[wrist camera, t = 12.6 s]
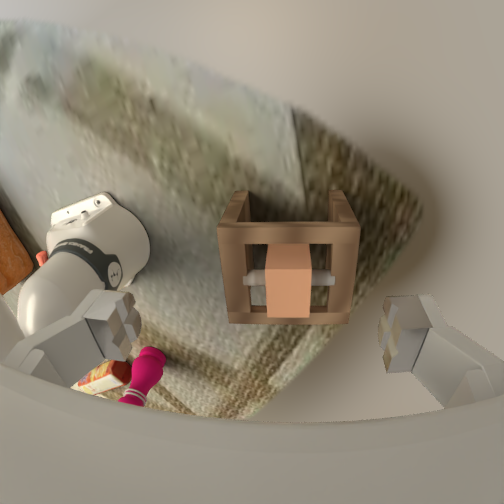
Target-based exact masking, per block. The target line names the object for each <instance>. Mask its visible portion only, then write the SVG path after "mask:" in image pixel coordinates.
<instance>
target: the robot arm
mask: <svg viewBox="0 0 504 504" xmlns="http://www.w3.org/2000/svg"><path fill="white" fill-rule="evenodd" d="M98 200H99V201H100V202H99V201H98ZM46 241H47V248H48V252H49V259H48V256H47V252H46V251H41V252H39V253H38V254H37V255H36V258H37V260H38V261H39V265H40V266H41V267H40V268H39V269H38V270H37V271H36V272H35V273H34V274H33V275H32V276H30V277H29V278H28V279H27V280H26V282H25V283H24V285H23V286H22V288H21V291H20V294H19V298H18V315H17V319H16V316H15V314H14V312H13V311H12V309H11V308H10V306H9V305H8V303H7V302H6V300H5V299H4V297H3V296H2V294H1V293H0V504H504V361H503V360H501V359H499V358H498V357H497V356H495V355H494V354H492V353H491V352H490V351H488V350H487V349H485V348H484V347H482V346H481V345H479V344H478V343H477V342H475V341H474V340H472V339H470V338H469V337H468V336H466V335H464V334H463V333H462V332H460V331H459V330H457V329H456V328H454V327H452V326H450V327H448V325H447V323H446V321H445V319H444V317H443V315H442V313H441V311H440V310H439V308H438V306H437V304H436V302H435V300H434V299H433V297H432V295H430V294H420V295H411V296H387V297H386V298H385V300H384V304H383V309H384V312H385V314H384V315H383V316H382V317H381V318H380V321H379V326H378V339H379V345H380V347H381V348H382V349H383V350H385V352H384V355H383V360H384V364H385V368H386V372H387V373H397V372H411V371H412V372H411V373H412V374H413V375H414V376H415V377H416V378H417V379H418V380H419V381H420V382H421V383H422V384H423V385H424V387H426V389H428V391H429V392H430V393H431V394H432V395H433V396H434V397H435V398H436V399H437V400H438V401H439V402H440V404H441V405H442V406H443V407H444V409H443V410H437V411H432V412H426V413H420V414H413V415H407V416H399V417H391V418H382V419H371V420H359V421H343V422H313V423H312V422H311V423H291V422H290V423H289V422H259V421H244V420H231V419H221V418H211V417H203V416H195V415H188V414H181V413H174V412H168V411H162V410H157V409H151V408H146V407H141V406H136V405H132V404H127V403H123V402H118V401H114V400H110V399H106V398H102V397H98V396H94V395H91V394H87V393H84V392H80V391H77V390H73V389H70V387H71V386H73V385H74V384H75V383H76V382H78V381H79V380H80V379H81V378H83V377H84V376H85V375H86V374H88V373H89V372H90V371H91V370H93V369H94V368H95V367H96V366H98V365H99V364H100V363H101V362H103V361H104V360H105V359H110V360H117V361H124V362H125V361H126V359H127V357H128V355H129V353H130V352H131V350H132V345H131V343H132V342H133V341H135V340H136V339H137V338H138V336H139V334H140V332H141V325H142V324H141V317H140V314H139V312H138V311H137V310H136V309H135V308H134V305H135V299H134V297H133V294H131V293H130V292H123V291H120V290H121V289H122V288H123V287H124V286H129V285H130V284H131V283H132V281H133V279H134V276H135V274H136V273H138V272H139V271H140V270H141V269H142V268H143V267H144V266H145V265H146V263H147V261H148V259H149V255H150V243H149V239H148V235H147V233H146V231H145V229H144V227H143V225H142V224H141V223H140V221H139V220H138V219H137V218H136V217H135V216H134V215H133V214H132V213H131V212H129V211H128V210H126V209H124V208H123V207H121V206H119V205H118V204H117V203H116V202H115V201H114V199H113V198H112V197H111V196H110V195H109V194H108V193H106V192H102V193H100V194H97V195H94V196H92V197H89V198H86V199H84V200H81V201H79V202H76V203H74V204H71V205H69V206H66V207H64V208H61V209H59V210H56V211H55V212H54V213H53V214H52V217H51V229H50V230H49V231H48V233H47V238H46Z"/></svg>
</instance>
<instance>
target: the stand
mask: <svg viewBox="0 0 504 504" xmlns="http://www.w3.org/2000/svg"><path fill="white" fill-rule="evenodd" d="M360 230H361V227H360V225H359V223H358V221H357V219H356V217H355V215H354V213H353V211H352V209H351V207H350V205H349V203H348V201H347V199H346V197H345V195H344V193H343V191H342V190H329V198H328V222H251V221H250V207H249V192H248V191H235V192H234V194H233V196H232V198H231V200H230V202H229V204H228V206H227V208H226V210H225V212H224V214H223V216H222V218H221V220H220V222H219V224H218V226H217V236H218V245H219V252H220V260H221V268H222V275H223V283H224V290H225V298H226V305H227V312H228V319H229V323H236V324H289V325H304V324H348V321H349V315H350V309H351V303H352V296H353V289H354V282H355V274H356V266H357V258H358V249H359V240H360ZM252 244H327V247H326V263H325V269H312V276H311V286H328V295H327V305H326V306H310V314H309V318H276V317H267V306H255V305H251V294H250V289H251V286H266V281H265V269H254V264H253V249H252Z"/></svg>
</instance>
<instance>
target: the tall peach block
mask: <svg viewBox="0 0 504 504" xmlns="http://www.w3.org/2000/svg"><path fill="white" fill-rule="evenodd" d="M311 276H312V267H311V257H310V248H309V244H268V250H267V257H266V265H265V281H266V301H267V317H276V318H309V314H310V297H311Z"/></svg>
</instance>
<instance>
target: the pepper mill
mask: <svg viewBox="0 0 504 504" xmlns="http://www.w3.org/2000/svg"><path fill="white" fill-rule="evenodd" d="M165 362H166V357H165V355H164V354H163V353H162V352H161V351H160V350H158V349H156V348H154V347H144V348H143V349H142V350H141V352H140V354H139V357H137V358H136V359H135V360H134V362H133V364H132V381H131V384H130V387H129V389H126V390H125V393H124V397H122V398H120V399H119V400H118V402H123V403H127V404H132V405H136V406H141V407H144V406H145V404H146V402H147V398H146V396H147V394H148V392H149V390H150V389H151V388H152V387H153V386H154V385H155V384H156V383H157V382H158V381H159V380H160V379H161V377H162V375H163V367H164V364H165Z"/></svg>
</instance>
